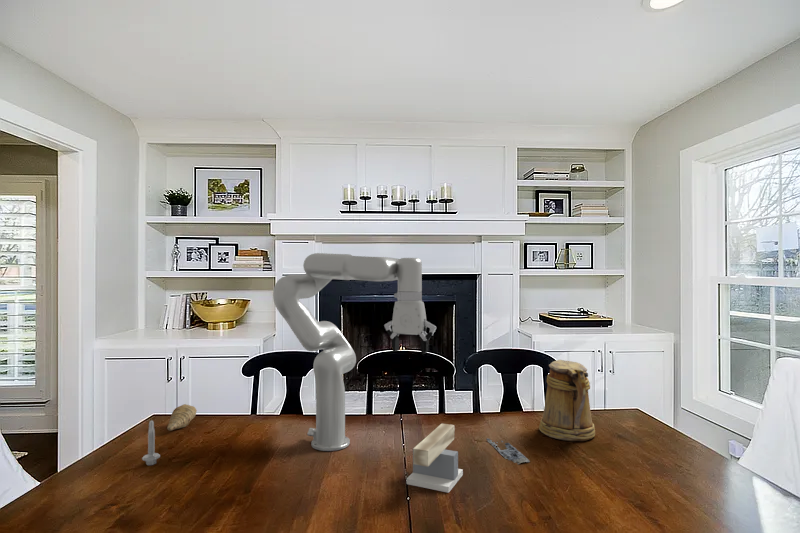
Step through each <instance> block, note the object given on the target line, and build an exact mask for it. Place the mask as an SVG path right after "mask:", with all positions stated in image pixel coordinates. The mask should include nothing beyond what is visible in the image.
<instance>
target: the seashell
mask: <svg viewBox="0 0 800 533" xmlns="http://www.w3.org/2000/svg"><path fill="white" fill-rule="evenodd" d="M197 411H198V410H197V408H196V407H195V406H194V405H189V404H186V403H185V404H181V405H179V406H177V407H176V408H174V409H173V411H172V413H171V416H170V419H169V421H168V424H167V428H166V429H167V430H168V431H170V432H171V431H173V430H178V429H182V428H185V427H188V426H189V424H190V422H191V421H192V420H193V419H194V418H195V417H196V414H197Z"/></svg>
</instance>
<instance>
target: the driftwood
mask: <svg viewBox="0 0 800 533" xmlns="http://www.w3.org/2000/svg"><path fill="white" fill-rule="evenodd" d="M486 441H487V442H488V443H489V444H490V445H491V446H492V447H493V448H494V449H495V450H496V451H497V452H498V453H499V454H500V455H501V456H502V457H503V458H504V459H505V460H506V459H508V460H507V461H510V463H511V462H513V463H514V464H515V463H516V464H517V465H520V464H521V463H530V462H531V461H530V459H529V458H528V457H526V456H525V455H524V454H523V453H522V452H521V451H519V450H518V449H517V448H516V447H515V446H513V445H512V444H511V443H510V442H505V443H504V441H503V440H500V442H501V443H504V445H505V446H504V447H505V449H501V448H500V447H498V442H499V441H493V440H491V438H486ZM492 441H493V442H492ZM495 442H496V443H497V444H496V443H495ZM496 446H497V447H496Z"/></svg>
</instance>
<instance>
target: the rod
mask: <svg viewBox="0 0 800 533" xmlns="http://www.w3.org/2000/svg"><path fill="white" fill-rule="evenodd" d="M455 431H456V428H455V425H454V424H451V423H450V424H448V423H440V424H439V425H438V426H437V427H436V428H434V430H432V431H431V432H430V433H429V434H428V435H427V436H426V437H425V438H424V439H423V440H421V441H420V442H419V443H417V445H415V446H414V447H413V448H414V464H416V465H421V466H427V467H428V466H429V465H430V464H431V463H432V462H433V461H434V460H435V459H436V458H437V457H438V456H439V455H440V454H441V453H442V452H443V450H444V449H447V447H448V446H449V445H450V444H452V442H453V441H454V440H455V435H456V434H455Z"/></svg>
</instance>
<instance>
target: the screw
mask: <svg viewBox="0 0 800 533" xmlns="http://www.w3.org/2000/svg"><path fill="white" fill-rule="evenodd" d="M155 436H156V431H155V422H154V420H149V423H148V433H147V443H148V444H147V447H148V448H147V454H144V455H143V457H141V460H142V461H144V462H145V464H146V465H147V466H154V465H156V464H157V460H159V459H161V454H159V453H158V452H155V451H156V450H155V449H156V448H155V447H156V444H155V439H156V437H155Z"/></svg>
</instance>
